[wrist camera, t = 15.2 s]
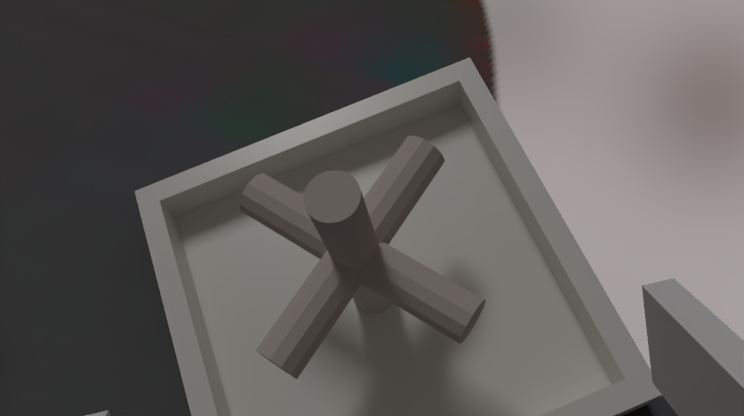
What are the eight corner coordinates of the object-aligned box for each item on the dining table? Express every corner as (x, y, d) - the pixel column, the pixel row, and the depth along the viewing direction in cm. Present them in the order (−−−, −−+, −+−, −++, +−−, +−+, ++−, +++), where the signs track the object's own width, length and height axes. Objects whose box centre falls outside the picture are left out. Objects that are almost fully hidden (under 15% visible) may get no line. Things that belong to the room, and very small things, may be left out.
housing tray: (252, 575, 26) (233, 579, 24) (156, 213, 34) (134, 191, 32) (647, 404, 27) (664, 393, 25) (469, 87, 35) (469, 57, 32)
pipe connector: (219, 329, 30) (113, 247, 21) (345, 158, 33) (298, 22, 24) (408, 459, 27) (376, 429, 18) (530, 257, 30) (556, 142, 21)
